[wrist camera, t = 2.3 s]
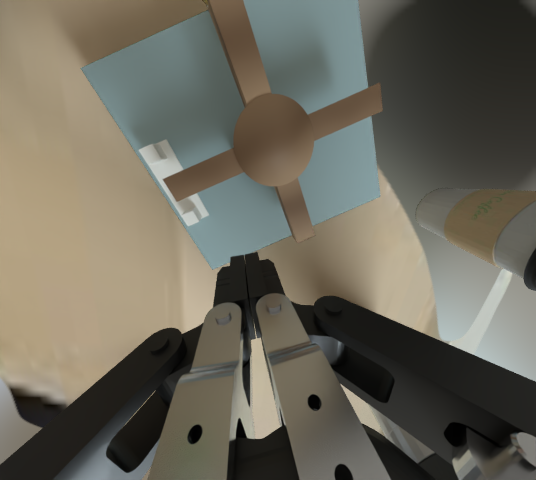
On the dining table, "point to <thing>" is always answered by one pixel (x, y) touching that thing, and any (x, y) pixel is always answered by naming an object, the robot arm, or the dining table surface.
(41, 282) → the dining table surface
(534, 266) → the coffee cup
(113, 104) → the stand
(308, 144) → the capstan
